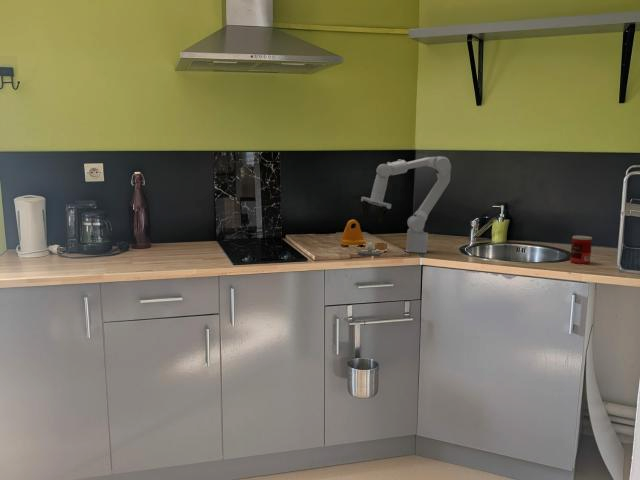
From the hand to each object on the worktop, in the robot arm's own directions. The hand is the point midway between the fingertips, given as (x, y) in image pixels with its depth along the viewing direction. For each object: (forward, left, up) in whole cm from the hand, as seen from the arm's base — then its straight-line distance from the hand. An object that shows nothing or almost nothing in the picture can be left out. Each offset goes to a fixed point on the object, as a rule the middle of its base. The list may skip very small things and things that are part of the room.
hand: (371, 220), depth 274 cm
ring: (-5, 0, -14) cm, 14 cm away
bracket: (+10, -10, -14) cm, 20 cm away
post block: (-1, +9, -14) cm, 16 cm away
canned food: (-88, -2, -14) cm, 89 cm away
